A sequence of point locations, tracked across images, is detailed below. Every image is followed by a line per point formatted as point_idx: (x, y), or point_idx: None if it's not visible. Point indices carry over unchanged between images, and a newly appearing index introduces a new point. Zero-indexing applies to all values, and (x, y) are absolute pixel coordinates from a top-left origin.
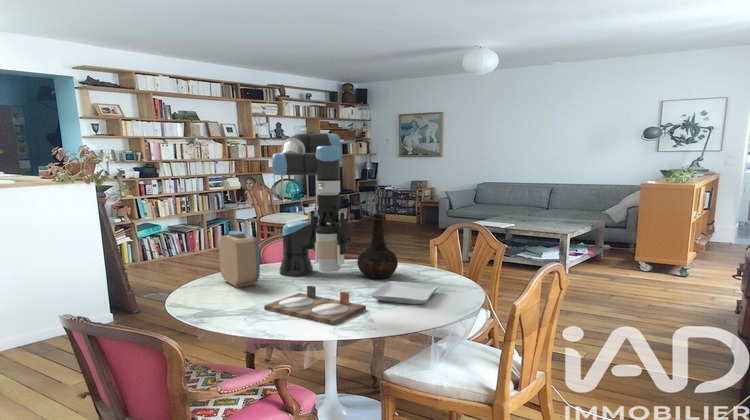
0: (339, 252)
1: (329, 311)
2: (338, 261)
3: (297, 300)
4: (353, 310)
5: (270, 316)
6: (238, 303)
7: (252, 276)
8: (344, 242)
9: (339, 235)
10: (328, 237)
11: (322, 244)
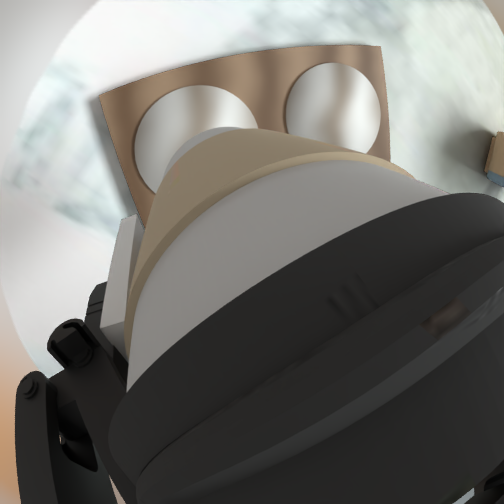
0: (113, 280)
1: (176, 129)
2: (124, 229)
3: (346, 127)
4: (139, 202)
5: (314, 13)
6: (438, 53)
7: (496, 164)
8: (37, 378)
9: (98, 447)
10: (159, 307)
11: (243, 157)
